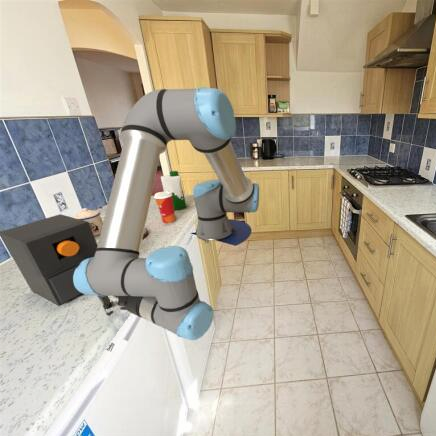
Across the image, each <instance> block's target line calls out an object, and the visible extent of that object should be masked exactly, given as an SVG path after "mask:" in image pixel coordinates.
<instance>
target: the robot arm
mask: <svg viewBox="0 0 436 436" xmlns="http://www.w3.org/2000/svg"><path fill="white" fill-rule="evenodd" d="M236 129H237V122H236V117H235V111H234V108H233V104H232V103H231V101H230V99H229V97H228V95H226V93H225V92H224V91H222V90H221V89H219V88H215V87H205V86H201V87H197V88H168V89H166V88H161V89H155V90H152V91H149V92H148V93H146V94H144V95H143V96H141V97H140V98H139V100H137V101H136V102H135V103H134V105H133V106H132V107H131V109H130V110H129V112H128V113H127V114H126V116H125V119H124V121H123V124H122V126H121V130H120V134H119V138H120V141H121V142H122V149H121V152H120V156H119V160H118V164H117V168H116V171H115V175H114V179H113V183H112V187H111V191H110V194H109V199H108V202H107V207H106V211H105V214H104V216H105V218H103V221H102V222H103V226H102V230H101V234H99V238H98V242H97V249H96V253H95V257H92V258H88V259H85V260H84V261H82V262H81V263H80V265H79V266H78V268H76V269H75V272H74V275H73V282H74V286H75V288H76V289H77V290H78V291H79V292H81V293H82V294H84V295H87V296H97V298H98V299H99V301H100V302H101V304H102V307H103V310H104V312H105V315H106V316H111V315H113V313H114V312H115V311H116V310H121V311H128V312H129V313H131V314H133V315H134V316H137V317H139V318H141V319H143V320H146V322H147V321H148V322H149V323H152V324H154V325H156V326H157V327H161V328H162V329H164V330H166V331H167V332H170V333H172V334H174V335H176V336H177V337H179V338H183V339H186V340H188V341H197V340H199V339H201V338H202V337H204V335H205V334H206V333H207V332H208V331H209V329H210V327H211V326H212V323H213V321H214V308H213V307H212V305H210V304H208V303H207V302H205V301H203V300H201V299H200V295H199V291H198V289H197V284H196V280H195V275H194V266H193V264H192V262H191V259H190V256H189V253H188V251H187V250H186V249H185V248H184V247H182V246H179V245H168V246H165V247H164V246H162V247H160V248H157V249H155V250H153V251H151V252H150V253H149V254H148V255H147V256H146V257H140V254H141V248H142V243H143V240H144V239H143V234H144V229H145V228H146V224H147V219H148V214H149V210H150V205H151V200H152V195H153V189H154V186H155V180H156V177H157V170H158V166H159V161H160V156H161V154H164V153H166V151H167V145H168V144H169V142H171V141H189V143H190V144H191V146H192V148H193V149H194V150H195V151H196V152H199V153H201V154H203V156H204V157H205V158H206V160H207V162H208V163H209V165H210V167H211V168H212V170H213V172H214V173H215V175H216V177H217V178H218V179H217V178H215V179H209V180H205V181H201V182H199V183H196V184H195V185H194V186H193V188H192V196H193V200H194V205H195V210H196V215H197V226H196V229H195V232H196V233H197V235H196V237H197V239H199V240H201V241H206V242H208V241H209V242H210V241H216V242H220V240H223V239H226V238H228V237H229V236H231V235H232V233H233V232H234V233H236V231H235V230H234V229H233V227H232V225H231V223H230V221H229V219H230V218H229V217H228V214H227V213H249V214H250V213H256V212H258V210H259V204H260V185H259V183H255V182H253V183H252V181H251V179H249V177H247V176H246V175H245V173H244V170H243V168H242V165H241V163H240V161H239V158H238V156H237V153H236V151H235V149H234V146H233V143H232V140H233V138H234V136H235V134H236ZM110 297H114V298H116V299H118V300H117V302H115V301H113V300H111V299H110Z"/></svg>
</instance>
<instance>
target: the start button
mask: <svg viewBox="0 0 436 436" xmlns="http://www.w3.org/2000/svg"><path fill="white" fill-rule="evenodd" d="M56 249H57V252H58V253H59V254H62V255H64V256H73V255H75V254H76V253H77V252H78V251H79V245H78V244H77V243H76V242H73V241H70V240H65V241H62V242H60V243H59V244H58V245H57V248H56Z"/></svg>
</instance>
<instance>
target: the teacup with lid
mask: <svg viewBox="0 0 436 436" xmlns="http://www.w3.org/2000/svg"><path fill="white" fill-rule="evenodd" d="M72 218H76V219H80V220H84V221H87V222H89V225H90V227H91V230H92V232H93V235H94V237H96V236H100V234H101V230H102V226H103V222H104V221H103V219H104V218H105V215H101V211H99V210H94V209H88V207H84V208H81V210H80V211H79V212H78V213H76V214H74V216H73V217H72Z"/></svg>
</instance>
